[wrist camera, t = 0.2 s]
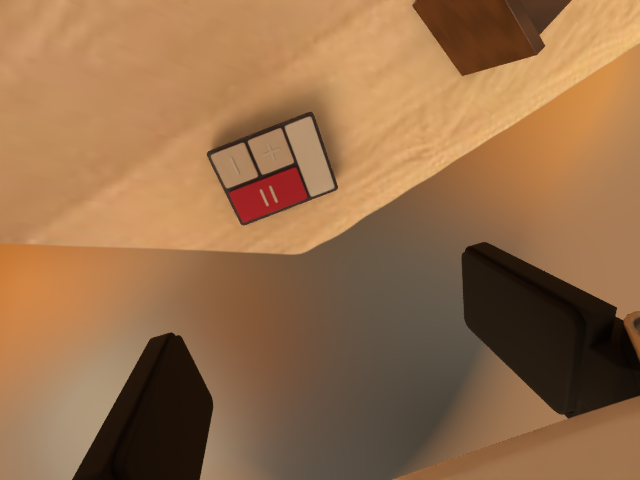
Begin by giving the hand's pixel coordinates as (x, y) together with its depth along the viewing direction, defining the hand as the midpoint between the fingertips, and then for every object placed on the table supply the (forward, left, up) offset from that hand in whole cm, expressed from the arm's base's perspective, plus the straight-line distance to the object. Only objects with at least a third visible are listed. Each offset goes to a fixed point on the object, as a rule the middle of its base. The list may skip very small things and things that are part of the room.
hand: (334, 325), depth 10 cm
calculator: (-1, 0, -37) cm, 37 cm away
